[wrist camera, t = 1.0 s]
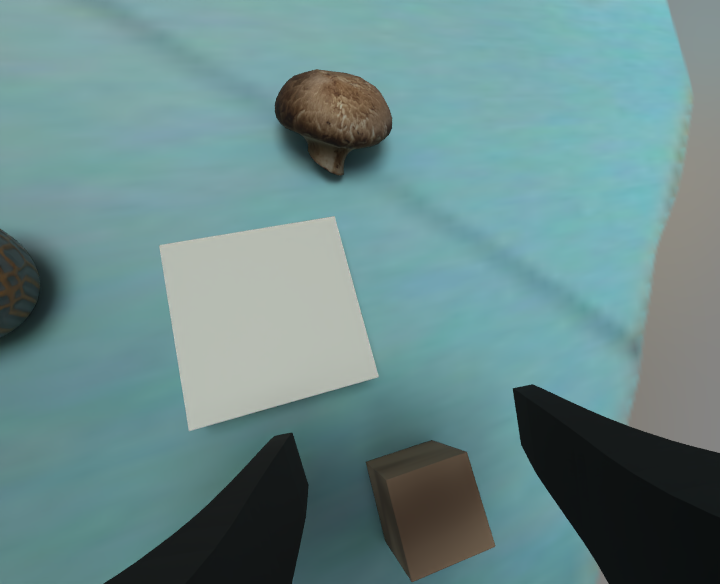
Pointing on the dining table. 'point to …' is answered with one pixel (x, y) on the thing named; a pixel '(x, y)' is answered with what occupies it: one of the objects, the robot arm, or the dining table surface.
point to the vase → (16, 284)
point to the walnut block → (429, 507)
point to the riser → (263, 319)
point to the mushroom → (333, 114)
